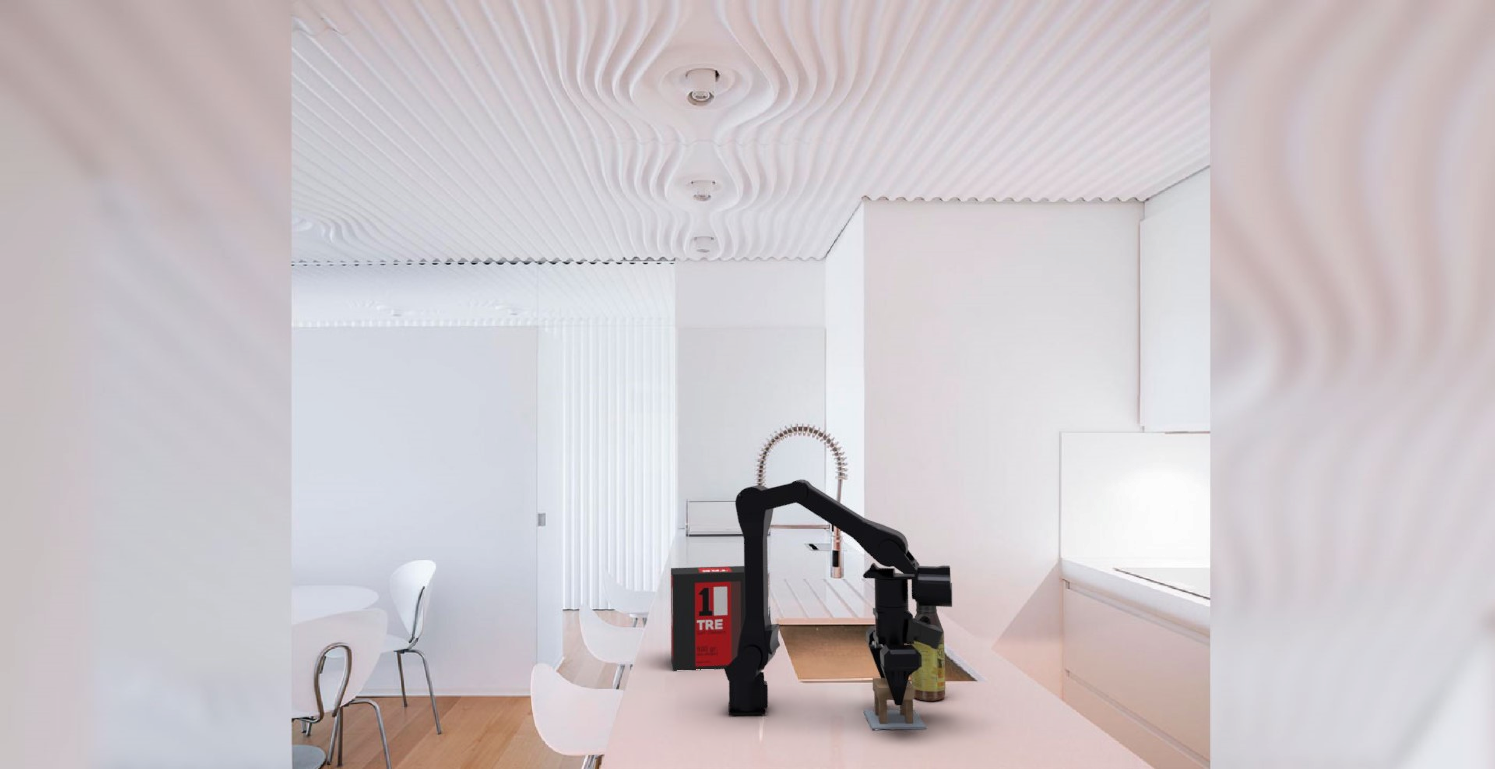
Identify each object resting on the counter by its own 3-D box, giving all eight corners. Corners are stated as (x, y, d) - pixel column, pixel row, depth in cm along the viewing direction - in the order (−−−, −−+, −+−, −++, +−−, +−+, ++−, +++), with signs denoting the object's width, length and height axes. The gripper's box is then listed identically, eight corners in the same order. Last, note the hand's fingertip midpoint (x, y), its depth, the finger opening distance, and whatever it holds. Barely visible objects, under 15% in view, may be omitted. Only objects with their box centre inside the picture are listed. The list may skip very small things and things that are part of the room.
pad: (872, 730, 143) (872, 727, 143) (863, 713, 152) (863, 710, 152) (926, 729, 143) (926, 726, 143) (914, 712, 152) (914, 709, 152)
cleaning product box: (673, 671, 180) (672, 574, 181) (671, 660, 189) (670, 568, 190) (751, 667, 182) (750, 572, 184) (746, 657, 191) (745, 565, 192)
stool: (879, 724, 144) (878, 688, 145) (873, 713, 150) (872, 678, 151) (914, 724, 145) (914, 687, 145) (907, 712, 151) (906, 677, 151)
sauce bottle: (946, 703, 157) (943, 592, 158) (911, 701, 158) (908, 591, 159) (945, 693, 163) (942, 586, 164) (911, 691, 165) (909, 585, 166)
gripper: (952, 615, 140) (954, 713, 139) (925, 594, 158) (927, 681, 157) (883, 616, 139) (885, 715, 138) (865, 594, 158) (866, 681, 157)
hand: (893, 697), depth 148 cm, fingers open, 9 cm apart
